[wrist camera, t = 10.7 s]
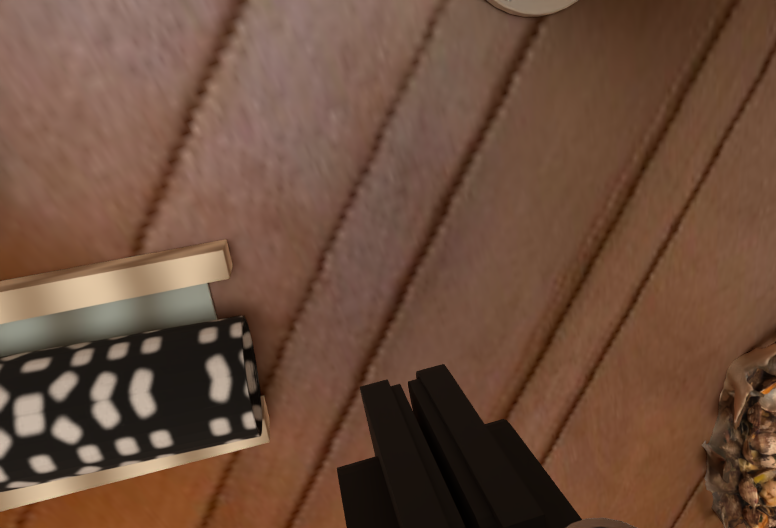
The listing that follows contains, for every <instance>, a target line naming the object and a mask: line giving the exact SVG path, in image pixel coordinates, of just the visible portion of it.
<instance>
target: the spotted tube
mask: <svg viewBox="0 0 776 528" xmlns="http://www.w3.org/2000/svg"><path fill="white" fill-rule="evenodd" d="M261 434H262V406H261V396H260V387H259V379H258V372H257V366H256V360H255V354H254V349H253V344H252V339H251V335H250V331H249V327H248V324H247V321H246V319H245V317H244V316H243V315H242V316H237V317H231V318H225V319H219V320H213V321H207V322H202V323H196V324H190V325H184V326H178V327H172V328H166V329H161V330H155V331H149V332H143V333H137V334H131V335H126V336H120V337H114V338H108V339H102V340H96V341H90V342H85V343H79V344H73V345H67V346H61V347H55V348H50V349H44V350H38V351H32V352H26V353H20V354H14V355H9V356H3V357H0V493H1V492H5V491H10V490H15V489H19V488H24V487H29V486H33V485H38V484H43V483H47V482H52V481H56V480H61V479H66V478H70V477H75V476H80V475H84V474H89V473H93V472H98V471H103V470H107V469H112V468H117V467H121V466H126V465H131V464H135V463H140V462H144V461H149V460H154V459H158V458H163V457H168V456H172V455H177V454H181V453H186V452H191V451H195V450H200V449H205V448H209V447H214V446H218V445H223V444H228V443H232V442H237V441H242V440H246V439H251V438H256V437H260V436H261Z"/></svg>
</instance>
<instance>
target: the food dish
mask: <svg viewBox="0 0 776 528" xmlns="http://www.w3.org/2000/svg"><path fill="white" fill-rule="evenodd" d="M702 446H703V447H704V448H705V450H706V451H707V472H706V476H705V481H706V484H705V485H706V489H707V490H709V491H711V492H712V494H713V505H712V509H713V511H714V512H715V513H716V514H717V516H718V517H719V519H720V520H721V522H722V523H723V525H724V528H729V527H730V528H735V527H736V526H737V525H738V524H741V523H743V522H744V523H745V525H746V528H776V342H775V343H773V344H771V345H769V346H768V347H766V348H755V349H753V350H752V351H750V352H749V353H746V354H743V355H741V356H740V357H738V358H737V359H736V360H735V361H733V362H732V364H731V366H730V367H729V369H728V370H727V375H726V380H725V382H724V388H723V390H722V392H721V394H720V400H719V412H718V417H717V420H716V423H715V427H714V429H713V434H712V436H711V439H710V442H709V443H708V444H706V441H704V443H703V444H702Z"/></svg>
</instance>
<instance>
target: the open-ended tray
mask: <svg viewBox="0 0 776 528" xmlns="http://www.w3.org/2000/svg"><path fill="white" fill-rule="evenodd" d="M232 266H233V264H232V260H231V256H230V252H229V248H228V244H227V239H225V240H220V241H214V242H209V243H203V244H198V245H193V246H187V247H182V248H176V249H171V250H166V251H160V252H155V253H150V254H144V255H139V256H133V257H128V258H123V259H117V260H112V261H106V262H101V263H96V264H90V265H85V266H79V267H74V268H69V269H63V270H58V271H52V272H47V273H42V274H36V275H31V276H26V277H20V278H15V279H9V280H4V281H0V357H3V356H9V355H14V354H20V353H26V352H32V351H38V350H44V349H50V348H55V347H61V346H67V345H73V344H79V343H85V342H90V341H96V340H102V339H108V338H114V337H120V336H126V335H131V334H137V333H143V332H149V331H155V330H161V329H166V328H172V327H178V326H184V325H190V324H196V323H202V322H207V321H213V320H217V316H216V312H215V308H214V304H213V300H212V296H211V292H210V289H209V285H208V283H210V282H215V281H220V280H225V279H230V275H231V271H232ZM261 406H262V434H261V436H260V437H256V438H251V439H246V440H242V441H237V442H232V443H228V444H223V445H218V446H214V447H209V448H205V449H200V450H195V451H191V452H186V453H181V454H177V455H172V456H168V457H163V458H158V459H154V460H149V461H144V462H140V463H135V464H131V465H126V466H121V467H117V468H112V469H107V470H103V471H98V472H93V473H89V474H84V475H80V476H75V477H70V478H66V479H61V480H56V481H52V482H47V483H43V484H38V485H33V486H29V487H24V488H19V489H15V490H10V491H5V492H1V493H0V511H4V510H8V509H12V508H16V507H20V506H24V505H27V504H31V503H35V502H39V501H43V500H47V499H51V498H55V497H58V496H62V495H66V494H70V493H74V492H78V491H82V490H86V489H89V488H93V487H97V486H101V485H105V484H109V483H113V482H117V481H121V480H124V479H128V478H132V477H136V476H140V475H144V474H148V473H152V472H155V471H159V470H163V469H167V468H171V467H175V466H179V465H183V464H186V463H190V462H194V461H198V460H202V459H206V458H210V457H214V456H218V455H221V454H225V453H229V452H233V451H237V450H241V449H245V448H249V447H252V446H256V445H260V444H264V443H268V442H270V431H269V414H268V410H267V406H266V401H265V397H264V396H261Z"/></svg>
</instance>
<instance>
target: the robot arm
mask: <svg viewBox="0 0 776 528" xmlns="http://www.w3.org/2000/svg"><path fill="white" fill-rule="evenodd" d="M487 1H488V2H489V3H491V4H492V5H493V6H495V7H496V8H499V9H501V10H503V11H505V12H507V13H509V14H513V15H518V16H523V17H540V16H544V15H548V14H553V13H555V12H558V11H560V10H563V9H565V8H567V7H569V6H571V5H572V4H574V3H575V2H577V1H579V0H487ZM416 378H417V379H416V380H412V381H408V388H409V393H410V398H411V404H412V409H413V411H412V409H411V406H410V404H409V402H408V400H407V398H406V396H405V393H404V391H403V389H402V387H401V385H400V384H398V385H394V386H390V384H389V382H388V380H383V381H380V382H376V383H372V384H369V385H365V386H361V387H360V390H361V395H362V400H363V404H364V408H365V413H366V417H367V421H368V426H369V430H370V435H371V439H372V443H373V448H374V452H375V456H376V457H372V458H369V459H366V460H362V461H359V462H355V463H352V464H349V465H345V466H342V467H338V468H337V472H338V479H339V485H340V491H341V496H342V502H343V508H344V514H345V520H346V526H347V528H636V527H634V526H632V525H629V524H627V523H624V522H622V521H618V520H612V519H607V518H590V519H584V520H582V519H581V518H580V516H579V515H578V514H577V512H576V511H575V510H574V508H573V507H572V506H571V504H570V503H569V502H568V500H567V499H566V498H565V496H564V495H563V494H562V492H561V491H560V490H559V488H558V487H557V486H556V484H555V483H554V482H553V480H552V479H551V478H550V476H549V475H548V474H547V472H546V471H545V470H544V468H543V467H542V466H541V464H540V463H539V462H538V460H537V459H536V458H535V456H534V455H533V454H532V452H531V451H530V450H529V448H528V447H527V446H526V444H525V443H524V442H523V440H522V439H521V438H520V436H519V435H518V434H517V432H516V431H515V430H514V428H513V427H512V426H511V424H510V423H509V422H508V421H507V420H504V419H501V420H498V421H495V422H491V423H488V424H484V423H483V421H482V420H481V418H480V417H479V415H478V414H477V412H476V411H475V409H474V408H473V406H472V405H471V403H470V402H469V400H468V399H467V397H466V396H465V394H464V393H463V391H462V390H461V388H460V387H459V385H458V384H457V382H456V381H455V379H454V378H453V376H452V375H451V373H450V372H449V370H448V369H447V367H446V366H445V365H444V364H442V365H438V366H434V367H431V368H427V369H423V370H420V371H417V372H416Z"/></svg>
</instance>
